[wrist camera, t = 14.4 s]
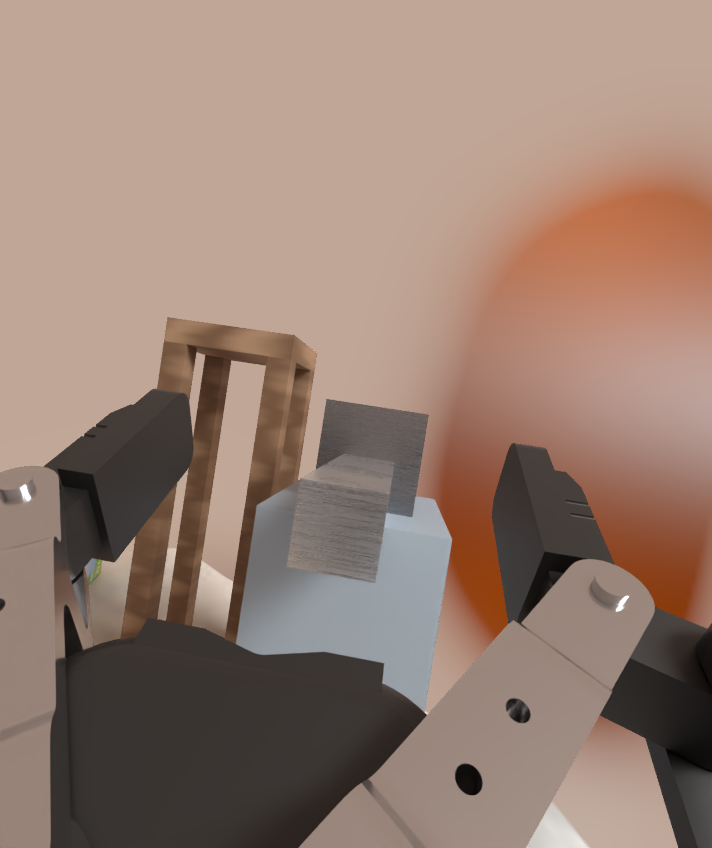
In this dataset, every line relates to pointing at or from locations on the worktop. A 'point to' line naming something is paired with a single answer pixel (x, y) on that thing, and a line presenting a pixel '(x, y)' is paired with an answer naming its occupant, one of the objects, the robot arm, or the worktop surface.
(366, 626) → the slate pedestal
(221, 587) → the worktop surface
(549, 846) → the worktop surface
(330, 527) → the metal bar
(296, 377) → the walnut stand
